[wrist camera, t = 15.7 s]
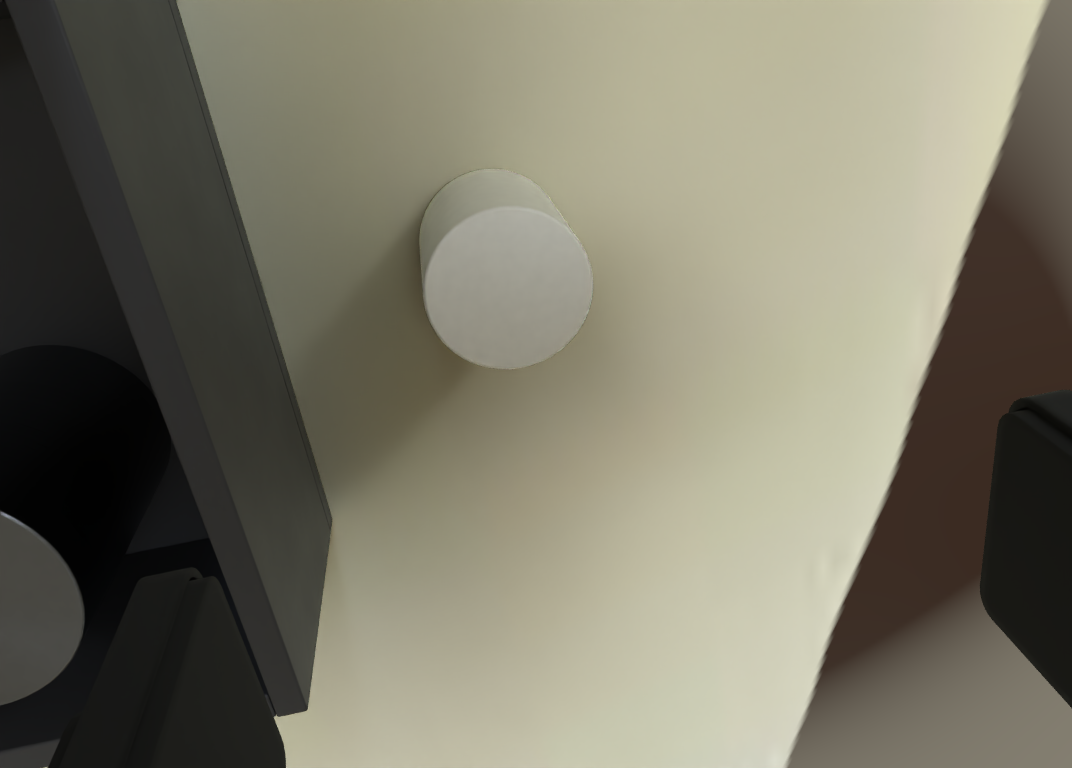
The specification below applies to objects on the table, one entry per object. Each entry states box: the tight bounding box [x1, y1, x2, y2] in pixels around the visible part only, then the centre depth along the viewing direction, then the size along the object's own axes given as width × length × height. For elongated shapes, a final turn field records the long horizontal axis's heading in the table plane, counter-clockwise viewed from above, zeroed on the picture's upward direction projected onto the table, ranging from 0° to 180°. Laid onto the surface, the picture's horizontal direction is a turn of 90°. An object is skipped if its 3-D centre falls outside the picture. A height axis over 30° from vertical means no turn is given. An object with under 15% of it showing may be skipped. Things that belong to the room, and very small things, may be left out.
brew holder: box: [0, 345, 171, 705], centre depth 23 cm, size 6×6×9 cm
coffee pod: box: [419, 169, 593, 369], centre depth 24 cm, size 4×4×5 cm
